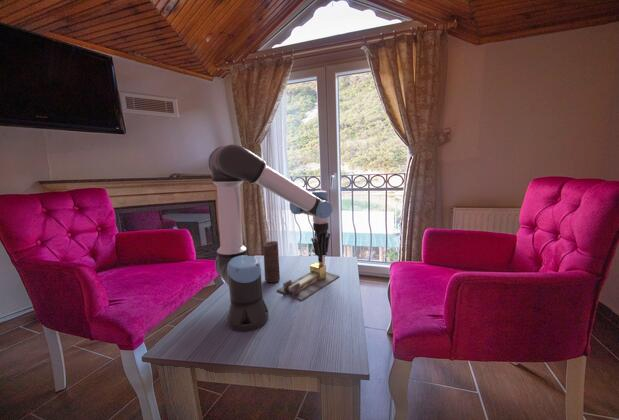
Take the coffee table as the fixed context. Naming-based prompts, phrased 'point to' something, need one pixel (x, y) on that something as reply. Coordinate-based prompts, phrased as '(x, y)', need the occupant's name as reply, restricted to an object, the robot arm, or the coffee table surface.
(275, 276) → the brown wooden block
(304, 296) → the tongs base
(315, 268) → the collar
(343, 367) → the coffee table surface
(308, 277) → the bar
